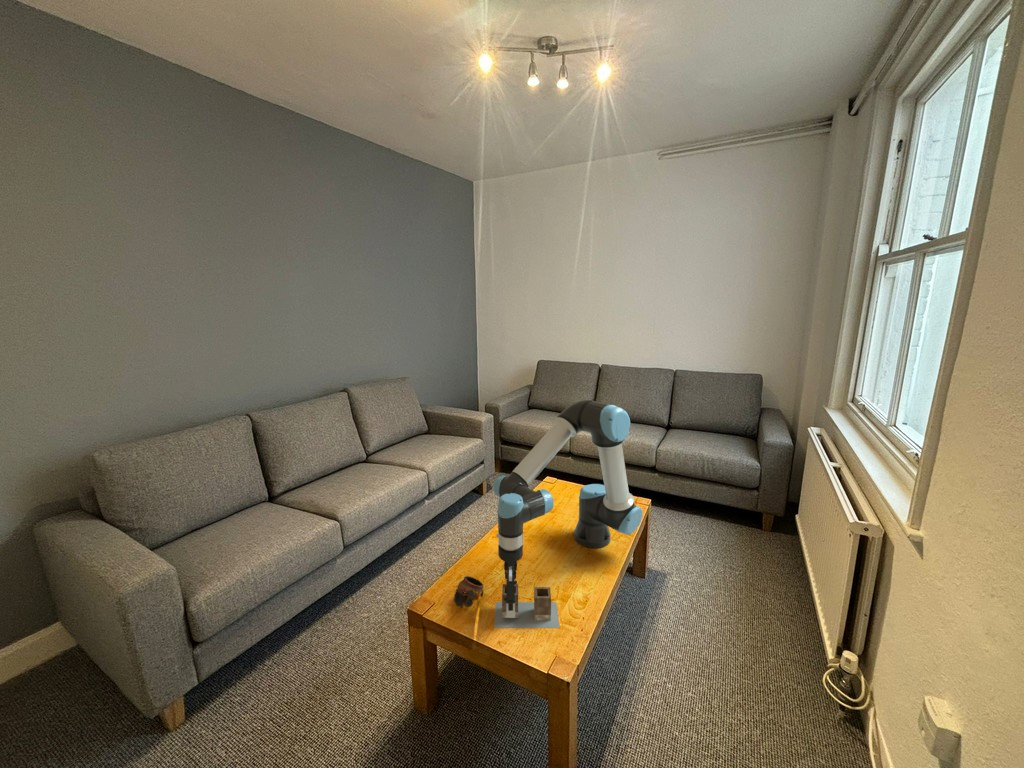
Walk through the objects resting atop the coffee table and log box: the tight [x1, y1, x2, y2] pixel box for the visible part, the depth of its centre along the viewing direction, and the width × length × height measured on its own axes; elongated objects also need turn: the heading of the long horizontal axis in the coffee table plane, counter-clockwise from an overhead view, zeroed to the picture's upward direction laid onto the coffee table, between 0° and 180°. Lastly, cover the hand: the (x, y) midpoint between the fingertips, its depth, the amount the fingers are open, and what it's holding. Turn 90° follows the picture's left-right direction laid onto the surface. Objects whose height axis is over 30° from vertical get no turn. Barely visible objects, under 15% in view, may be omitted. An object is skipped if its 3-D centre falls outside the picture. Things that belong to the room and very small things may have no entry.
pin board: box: [493, 601, 561, 629], centre depth 132 cm, size 20×11×7 cm, turn 90°
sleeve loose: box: [501, 583, 519, 618], centre depth 132 cm, size 5×5×8 cm
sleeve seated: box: [533, 586, 552, 621], centre depth 132 cm, size 5×5×8 cm
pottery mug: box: [453, 575, 484, 609], centre depth 140 cm, size 12×10×8 cm
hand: (510, 610), depth 132 cm, fingers closed on sleeve loose, 5 cm apart
